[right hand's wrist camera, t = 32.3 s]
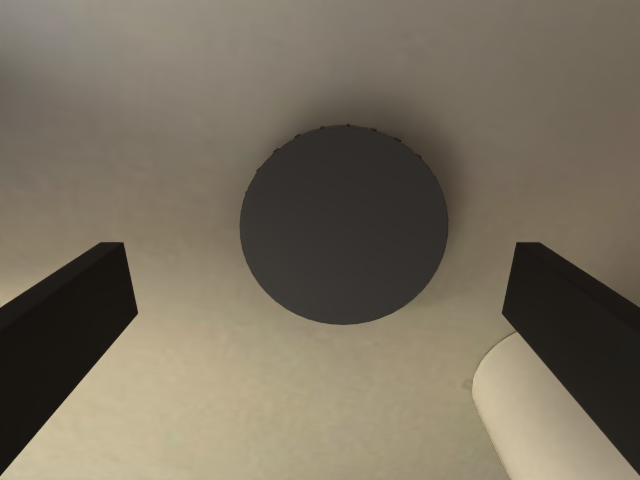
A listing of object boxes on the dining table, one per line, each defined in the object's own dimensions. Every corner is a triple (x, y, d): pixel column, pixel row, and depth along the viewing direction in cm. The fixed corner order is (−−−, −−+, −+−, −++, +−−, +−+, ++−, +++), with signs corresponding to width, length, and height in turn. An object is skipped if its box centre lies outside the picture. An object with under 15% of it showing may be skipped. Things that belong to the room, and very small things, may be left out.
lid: (358, 76, 18) (361, 73, 16) (476, 237, 20) (490, 250, 19) (207, 210, 20) (194, 220, 19) (328, 337, 23) (328, 358, 21)
